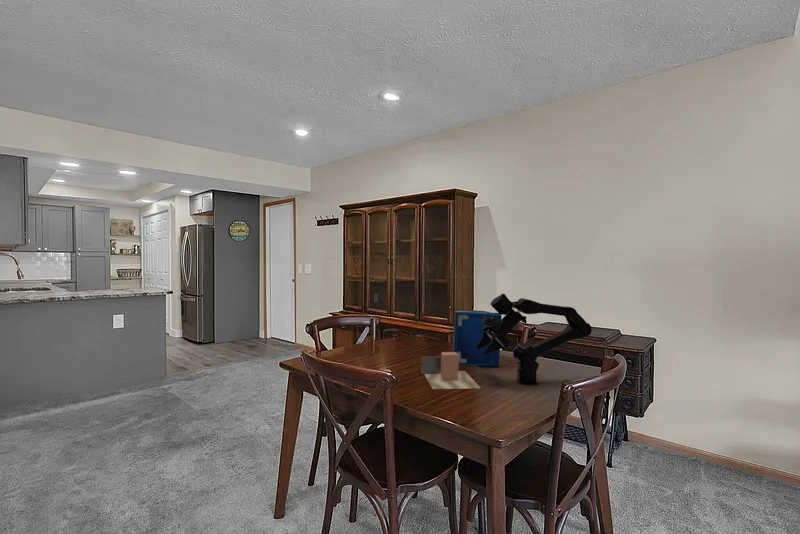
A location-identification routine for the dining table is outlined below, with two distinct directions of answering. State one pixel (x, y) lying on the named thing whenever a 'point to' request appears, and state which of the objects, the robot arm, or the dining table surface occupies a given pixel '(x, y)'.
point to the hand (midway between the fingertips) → (480, 351)
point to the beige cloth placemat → (451, 381)
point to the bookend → (431, 365)
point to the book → (472, 338)
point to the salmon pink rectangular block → (449, 365)
